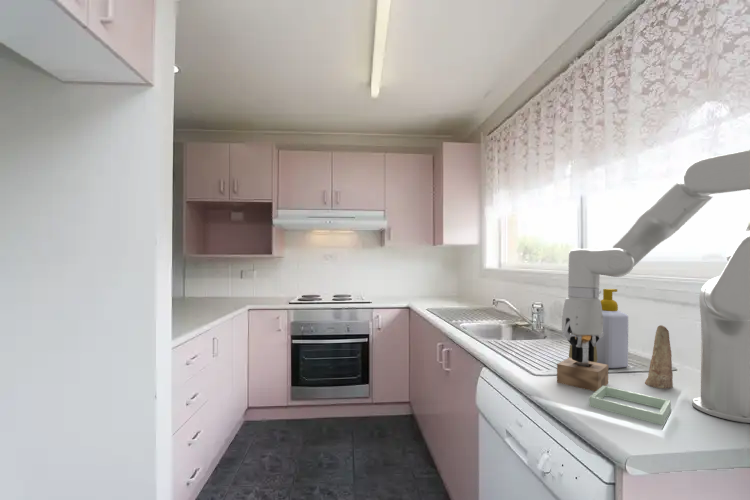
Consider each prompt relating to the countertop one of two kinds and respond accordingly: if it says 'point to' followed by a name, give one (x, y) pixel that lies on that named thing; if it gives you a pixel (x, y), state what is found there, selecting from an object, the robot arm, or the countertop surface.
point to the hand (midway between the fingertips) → (582, 359)
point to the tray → (631, 411)
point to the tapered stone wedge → (661, 361)
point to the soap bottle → (613, 334)
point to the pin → (585, 351)
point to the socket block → (582, 374)
